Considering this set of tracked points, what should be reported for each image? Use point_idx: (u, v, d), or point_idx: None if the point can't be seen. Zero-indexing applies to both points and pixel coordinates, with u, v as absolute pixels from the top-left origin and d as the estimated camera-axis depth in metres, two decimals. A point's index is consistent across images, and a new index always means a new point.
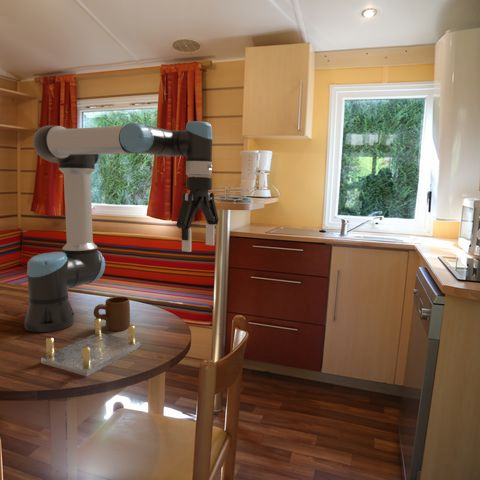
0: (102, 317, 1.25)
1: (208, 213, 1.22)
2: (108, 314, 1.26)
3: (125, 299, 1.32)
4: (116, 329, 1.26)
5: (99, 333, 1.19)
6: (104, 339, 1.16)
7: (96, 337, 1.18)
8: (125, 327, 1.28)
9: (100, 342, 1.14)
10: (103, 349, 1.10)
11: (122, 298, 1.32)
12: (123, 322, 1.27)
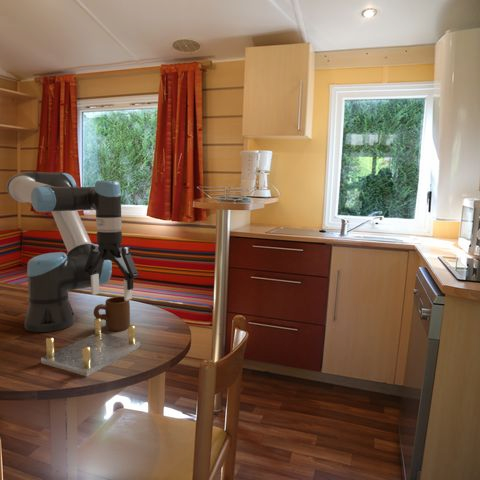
0: (102, 317, 1.25)
1: None
2: (108, 314, 1.26)
3: None
4: (116, 329, 1.26)
5: (99, 333, 1.19)
6: (104, 339, 1.16)
7: (96, 337, 1.18)
8: (125, 327, 1.28)
9: (100, 342, 1.14)
10: (103, 349, 1.10)
11: (122, 298, 1.32)
12: (123, 322, 1.27)
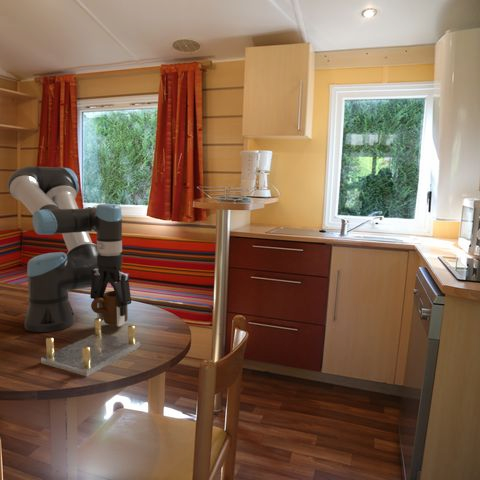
0: (100, 311, 1.25)
1: None
2: (106, 308, 1.26)
3: None
4: (114, 323, 1.27)
5: (99, 333, 1.19)
6: (104, 339, 1.16)
7: (96, 337, 1.18)
8: None
9: (100, 342, 1.14)
10: (103, 349, 1.10)
11: None
12: None
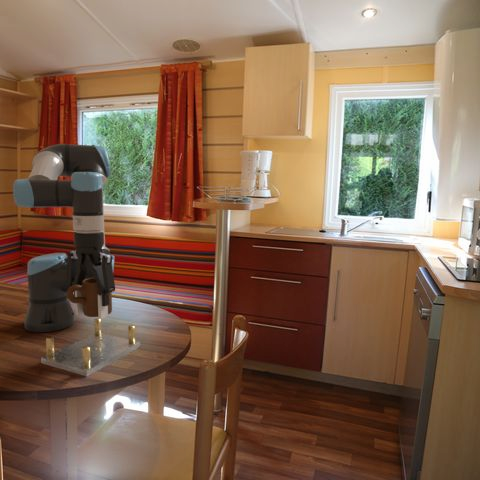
0: (77, 300, 1.04)
1: None
2: (85, 297, 1.06)
3: None
4: (95, 315, 1.06)
5: (99, 333, 1.19)
6: (104, 339, 1.16)
7: (96, 337, 1.18)
8: None
9: (100, 342, 1.14)
10: (103, 349, 1.10)
11: None
12: None
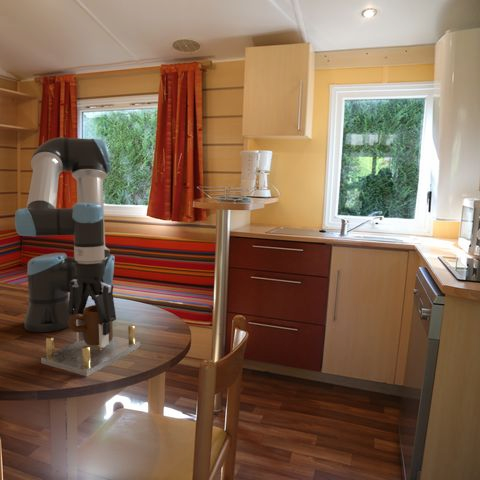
0: (79, 329, 1.05)
1: None
2: (86, 325, 1.07)
3: None
4: (96, 343, 1.07)
5: None
6: None
7: None
8: None
9: None
10: (103, 349, 1.10)
11: None
12: None
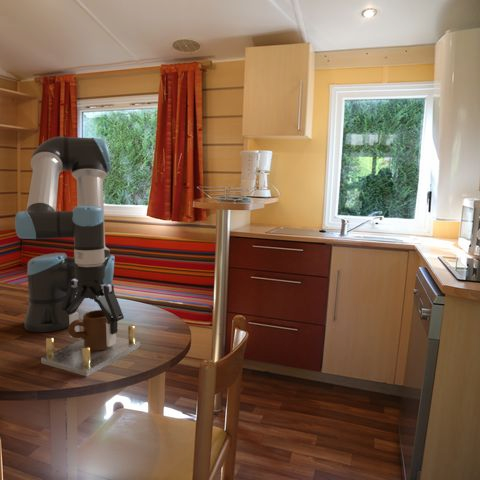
0: (79, 335, 1.06)
1: None
2: (86, 331, 1.07)
3: None
4: (96, 349, 1.08)
5: None
6: None
7: None
8: (106, 346, 1.09)
9: None
10: None
11: None
12: (104, 340, 1.08)
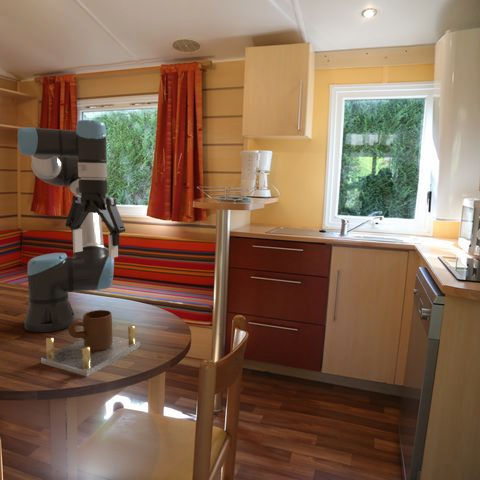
0: (79, 335, 1.06)
1: None
2: (86, 331, 1.07)
3: (107, 313, 1.13)
4: (96, 349, 1.08)
5: None
6: None
7: None
8: (106, 346, 1.09)
9: None
10: None
11: (103, 312, 1.13)
12: (104, 340, 1.08)
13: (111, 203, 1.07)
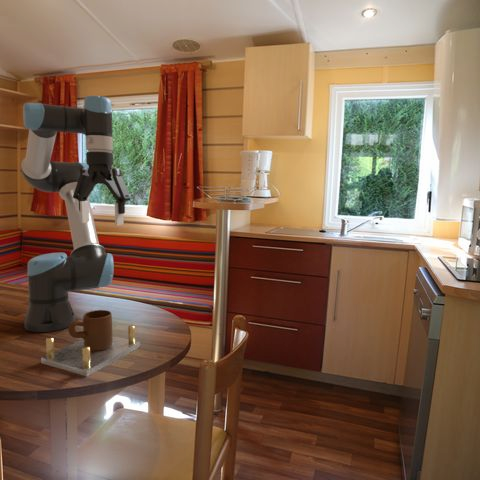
0: (79, 335, 1.06)
1: None
2: (86, 331, 1.07)
3: (107, 313, 1.13)
4: (96, 349, 1.08)
5: None
6: None
7: None
8: (106, 346, 1.09)
9: None
10: None
11: (103, 312, 1.13)
12: (104, 340, 1.08)
13: (117, 173, 1.14)
